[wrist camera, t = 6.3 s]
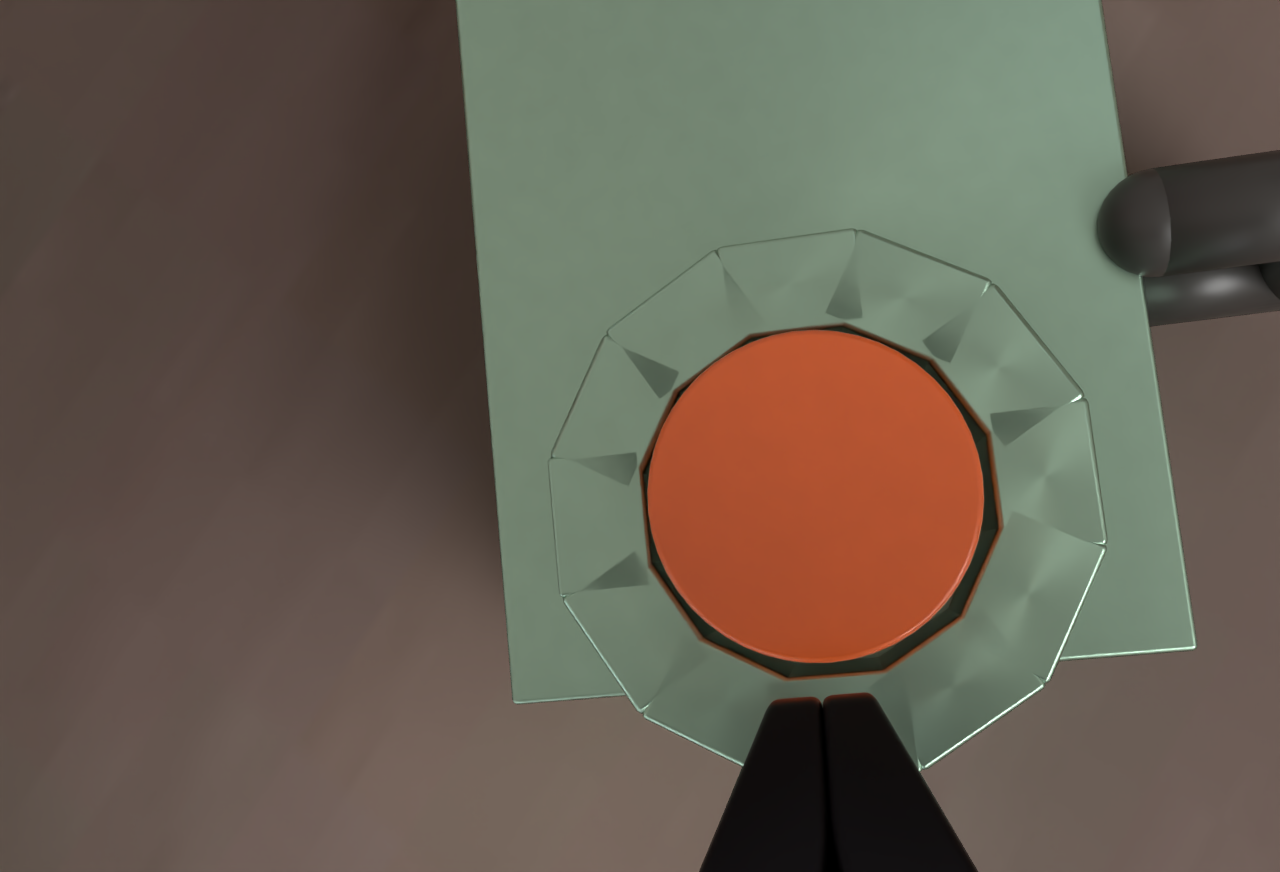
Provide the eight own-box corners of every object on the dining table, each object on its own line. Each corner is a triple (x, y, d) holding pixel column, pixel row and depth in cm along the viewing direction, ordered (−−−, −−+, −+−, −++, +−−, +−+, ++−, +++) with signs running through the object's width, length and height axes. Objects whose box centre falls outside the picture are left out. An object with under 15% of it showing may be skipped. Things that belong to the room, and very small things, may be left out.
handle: (1327, 310, 19) (1506, 219, 14) (1047, 344, 20) (1117, 270, 15) (1313, 228, 19) (1485, 106, 14) (1036, 264, 20) (1102, 162, 15)
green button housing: (1112, 680, 20) (1260, 751, 13) (603, 718, 22) (476, 802, 14) (1021, 21, 22) (1106, -251, 14) (546, 100, 23) (405, -110, 16)
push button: (986, 637, 14) (1006, 648, 12) (686, 662, 15) (662, 677, 13) (947, 338, 14) (961, 307, 13) (658, 375, 15) (631, 350, 13)
